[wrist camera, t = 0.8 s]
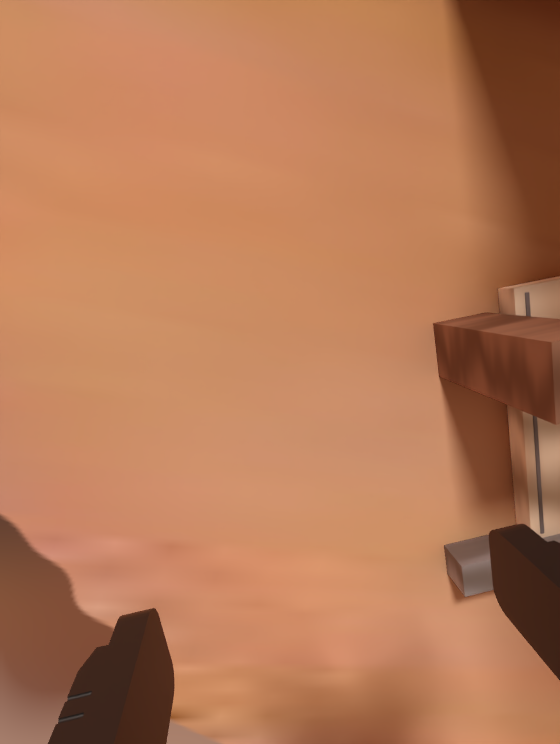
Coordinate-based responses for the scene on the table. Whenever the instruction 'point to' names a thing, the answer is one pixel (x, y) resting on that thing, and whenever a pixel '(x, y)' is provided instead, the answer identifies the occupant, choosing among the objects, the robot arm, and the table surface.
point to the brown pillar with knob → (504, 359)
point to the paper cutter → (520, 457)
